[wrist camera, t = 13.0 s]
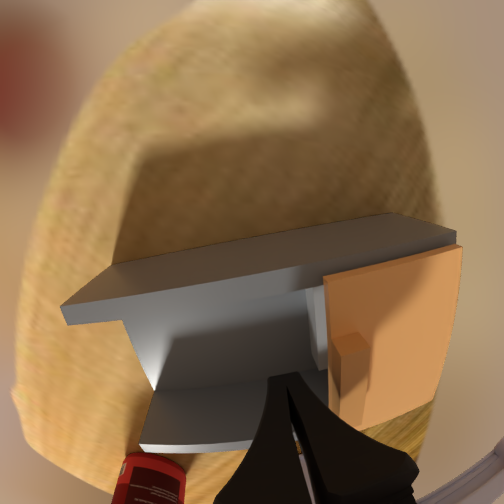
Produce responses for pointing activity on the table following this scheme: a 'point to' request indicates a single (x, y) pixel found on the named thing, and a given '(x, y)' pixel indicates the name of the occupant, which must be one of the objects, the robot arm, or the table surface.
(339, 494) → the robot arm
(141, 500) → the canned food
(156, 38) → the table surface
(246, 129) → the table surface
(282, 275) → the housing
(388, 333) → the lid
